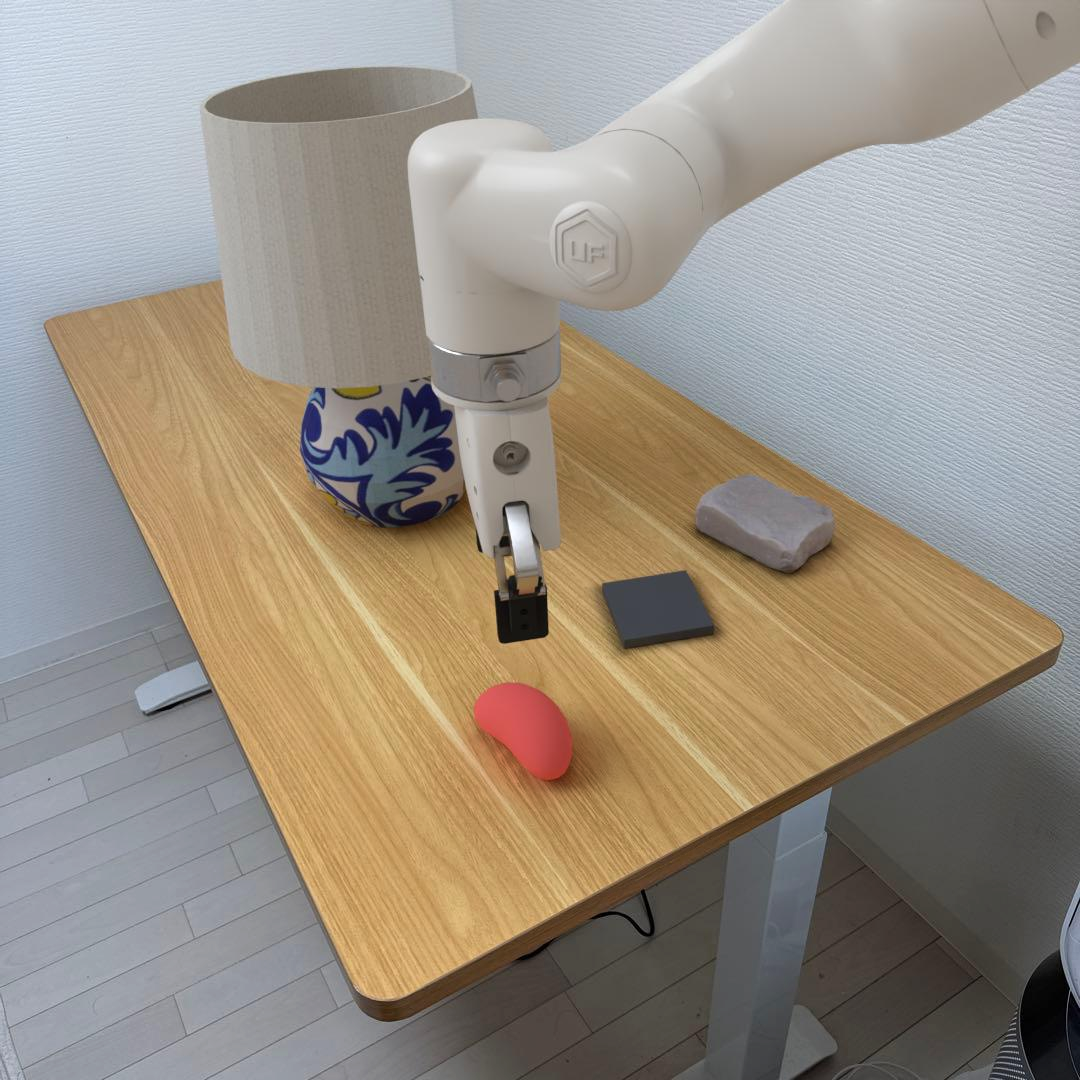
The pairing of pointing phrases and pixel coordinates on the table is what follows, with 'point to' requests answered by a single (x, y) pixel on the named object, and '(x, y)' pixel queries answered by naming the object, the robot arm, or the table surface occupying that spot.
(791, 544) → the stone block
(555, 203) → the robot arm
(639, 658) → the table surface
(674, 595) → the felt pad
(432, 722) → the table surface
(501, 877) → the table surface
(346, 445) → the table lamp
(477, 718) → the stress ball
